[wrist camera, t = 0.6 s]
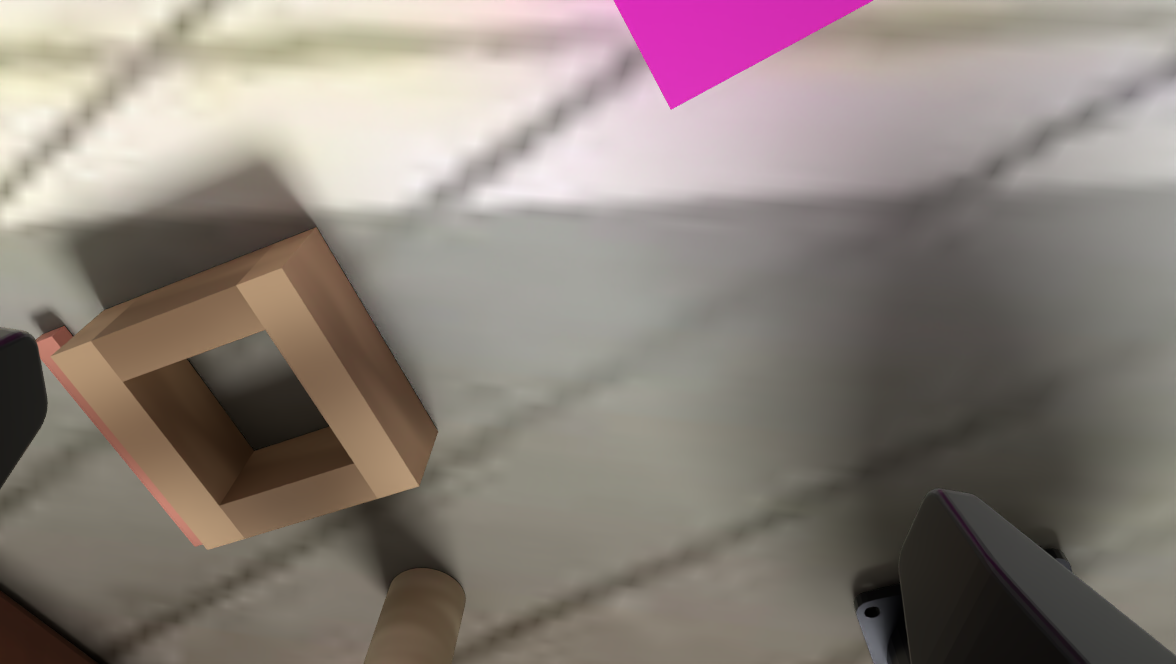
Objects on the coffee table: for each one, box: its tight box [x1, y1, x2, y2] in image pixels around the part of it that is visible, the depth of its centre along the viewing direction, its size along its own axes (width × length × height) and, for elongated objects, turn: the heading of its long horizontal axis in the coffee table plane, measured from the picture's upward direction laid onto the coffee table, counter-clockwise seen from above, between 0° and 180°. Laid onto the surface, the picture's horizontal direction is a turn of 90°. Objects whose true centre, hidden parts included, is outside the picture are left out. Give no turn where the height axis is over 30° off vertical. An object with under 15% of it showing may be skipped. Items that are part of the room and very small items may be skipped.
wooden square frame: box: [36, 227, 438, 550], centre depth 24 cm, size 8×9×2 cm
